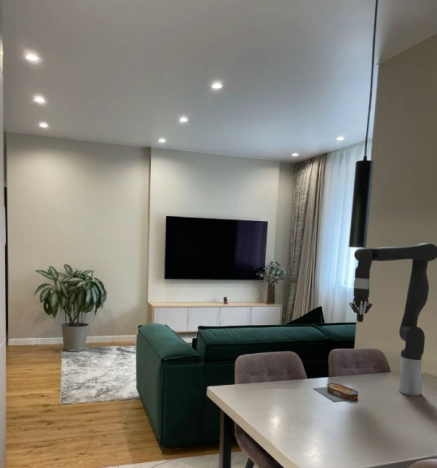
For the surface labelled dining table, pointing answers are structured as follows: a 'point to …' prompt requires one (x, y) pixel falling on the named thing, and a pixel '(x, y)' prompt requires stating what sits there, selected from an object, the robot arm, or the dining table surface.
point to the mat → (330, 395)
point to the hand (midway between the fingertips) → (359, 321)
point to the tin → (342, 391)
